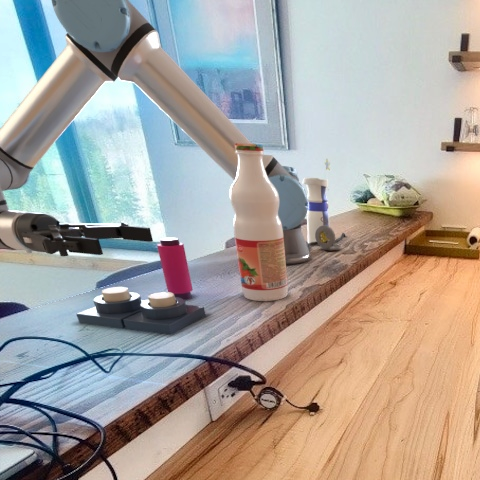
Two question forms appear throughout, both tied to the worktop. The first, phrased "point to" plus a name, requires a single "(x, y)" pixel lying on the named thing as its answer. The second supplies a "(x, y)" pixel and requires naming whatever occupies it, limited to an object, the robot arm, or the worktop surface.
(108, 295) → the eye pad
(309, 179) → the water bottle
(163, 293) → the eye pad
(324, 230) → the pocket watch
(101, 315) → the eye block
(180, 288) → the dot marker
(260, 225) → the fruit juice
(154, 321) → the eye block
